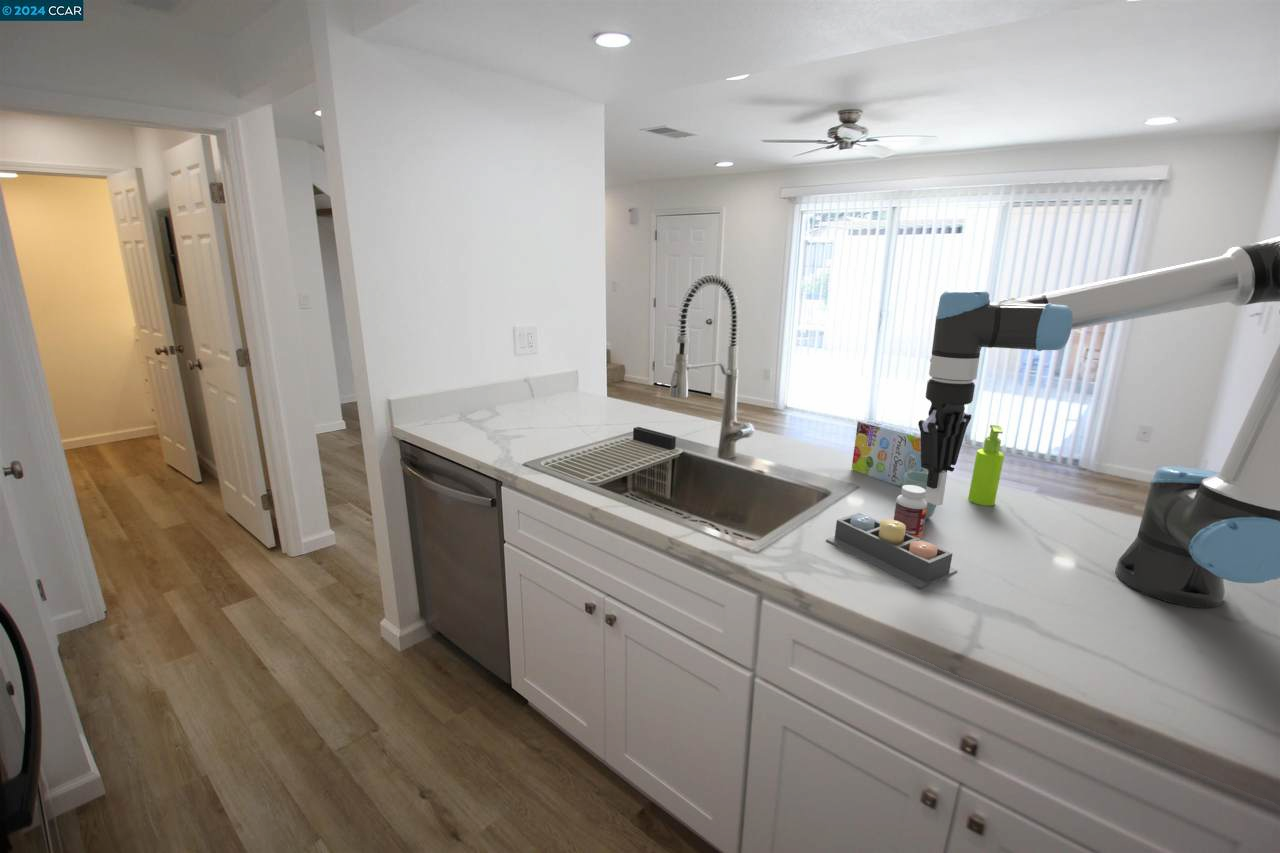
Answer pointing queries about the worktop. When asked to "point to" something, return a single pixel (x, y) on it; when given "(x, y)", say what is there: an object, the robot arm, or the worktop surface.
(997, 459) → the soap dispenser
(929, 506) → the cup
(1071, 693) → the worktop surface
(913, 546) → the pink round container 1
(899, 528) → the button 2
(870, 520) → the light blue block
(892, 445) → the snack box
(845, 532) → the grey compartment tray
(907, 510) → the pill bottle
